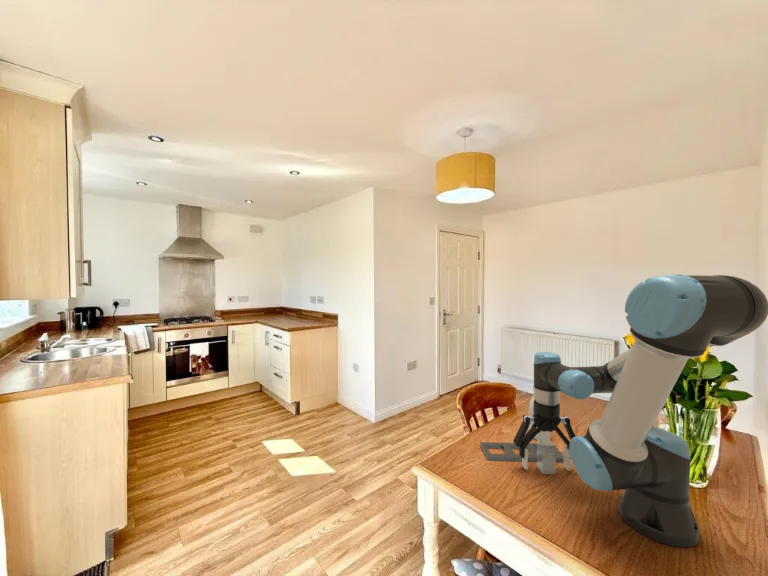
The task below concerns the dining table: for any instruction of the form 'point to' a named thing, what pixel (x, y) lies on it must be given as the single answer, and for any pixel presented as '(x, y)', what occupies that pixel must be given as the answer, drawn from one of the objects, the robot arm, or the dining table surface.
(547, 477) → the dining table surface
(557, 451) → the grey slotted plate
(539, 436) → the milk bottle
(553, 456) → the block
